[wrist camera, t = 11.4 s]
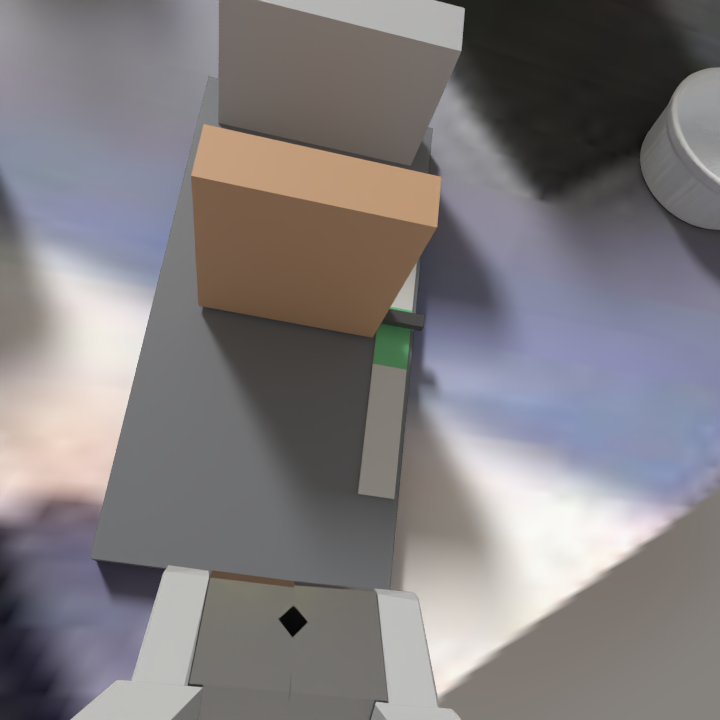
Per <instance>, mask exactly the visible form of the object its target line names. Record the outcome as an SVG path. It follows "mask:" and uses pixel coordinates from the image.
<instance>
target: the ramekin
mask: <svg viewBox="0 0 720 720" xmlns="http://www.w3.org/2000/svg"><path fill="white" fill-rule="evenodd" d="M640 164H641V170H642V174H643V176H644V179H645V181H646V184H647V185H648V187H649V189H650V191H651V192H652V194H653V195H654V196H655V198H656V199H657V200H658V201H659V202H660V203H661V204H662V206H663V207H665V208H666V209H667V210H668V211H669V212H670V213H672V214H673V215H675V216H676V217H678V218H679V219H681V220H683V221H685V222H687V223H689V224H691V225H694V226H697V227H701V228H706V229H715V230H720V67H718V68H707V69H703V70H700V71H697V72H695V73H693V74H691V75H689V76H688V77H686V78H685V79H684V80H683V81H682V82H681V83H680V84H679V86H678V87H677V88H676V90H675V92H674V93H673V95H672V97H671V99H670V102H669V104H668V105H667V107H666V108H665V109H664V111H663V112H662V114H661V115H660V116H659V118H658V119H657V120H656V122H655V123H654V125H653V126H652V127H651V129H650V130H649V132H648V133H647V135H646V137H645V139H644V141H643V144H642V147H641V152H640Z"/></svg>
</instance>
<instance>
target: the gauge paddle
mask: <svg viewBox="0 0 720 720" xmlns="http://www.w3.org/2000/svg"><path fill="white" fill-rule="evenodd" d="M191 183H192V200H193V218H194V236H195V254H196V272H197V290H198V306H203V307H208V308H214V309H219V310H225V311H230V312H235V313H241V314H246V315H252V316H257V317H263V318H268V319H273V320H279V321H284V322H290V323H295V324H301V325H306V326H311V327H317V328H322V329H328V330H333V331H338V332H344V333H349V334H355V335H360V336H366V337H371V338H373V336H374V334H375V333H376V331H377V329H378V328H379V326H380V324H386V325H392V326H397V327H402V328H407V329H413V330H418V331H421V330H422V328H423V327H424V316H425V315H421V314H416V313H410V312H405V311H400V310H395V309H390V307H391V305H392V304H393V302H394V300H395V299H396V297H397V295H398V293H399V292H400V290H401V288H402V287H403V285H404V283H405V281H406V280H407V278H408V276H409V275H410V273H411V271H412V270H413V268H414V266H415V264H416V263H417V261H418V259H419V258H420V256H421V254H422V253H423V251H424V249H425V247H426V246H427V244H428V242H429V241H430V239H431V237H432V235H433V234H434V232H435V230H436V229H437V223H438V212H439V200H440V188H441V177H440V176H435V175H431V174H426V173H422V172H417V171H413V170H408V169H404V168H399V167H395V166H390V165H386V164H381V163H377V162H372V161H368V160H363V159H359V158H354V157H350V156H345V155H341V154H336V153H332V152H327V151H323V150H318V149H314V148H309V147H305V146H300V145H296V144H291V143H287V142H282V141H278V140H273V139H269V138H264V137H260V136H255V135H251V134H246V133H242V132H237V131H233V130H228V129H224V128H219V127H215V126H210V125H206V124H204V125H203V129H202V133H201V137H200V141H199V145H198V149H197V153H196V158H195V162H194V166H193V170H192V174H191Z"/></svg>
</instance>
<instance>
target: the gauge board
mask: <svg viewBox="0 0 720 720" xmlns="http://www.w3.org/2000/svg"><path fill="white" fill-rule="evenodd" d="M464 13H465V8H462V7H458V6H454V5H451V4H447V3H443V2H439V1H435V0H219V79H218V78H213V77H208V81H207V85H206V89H205V93H204V97H203V101H202V105H201V109H200V113H199V117H198V122H197V126H196V130H195V134H194V138H193V142H192V146H191V150H190V154H189V158H188V162H187V166H186V170H185V174H184V178H183V182H182V186H181V190H180V194H179V198H178V202H177V207H176V211H175V215H174V219H173V223H172V227H171V231H170V235H169V239H168V243H167V247H166V251H165V255H164V259H163V263H162V267H161V271H160V275H159V279H158V283H157V287H156V292H155V296H154V300H153V304H152V308H151V312H150V316H149V320H148V324H147V328H146V332H145V336H144V340H143V344H142V348H141V352H140V356H139V360H138V364H137V368H136V373H135V377H134V381H133V385H132V389H131V393H130V397H129V401H128V405H127V409H126V413H125V417H124V421H123V425H122V429H121V433H120V437H119V441H118V445H117V449H116V453H115V458H114V462H113V466H112V470H111V474H110V478H109V482H108V486H107V490H106V494H105V498H104V502H103V506H102V510H101V514H100V518H99V522H98V526H97V530H96V534H95V538H94V543H93V547H92V551H91V555H90V559H93V560H95V561H102V562H110V563H118V564H126V565H133V566H141V567H149V568H157V569H165V570H166V568H167V566H168V565H171V566H178V567H185V568H192V569H200V570H207V571H211V572H212V570H214V571H222V572H229V573H237V574H244V575H252V576H259V577H266V578H274V579H281V580H289V581H299V582H309V583H319V584H328V585H338V586H348V587H358V588H368V589H372V590H374V589H385V590H390V582H391V571H392V560H393V549H394V539H395V528H396V517H397V507H398V496H399V485H400V474H401V464H402V453H403V442H404V432H405V421H406V410H407V399H408V389H409V378H410V367H411V357H412V346H413V335H414V330H413V329H407V328H402V327H397V326H392V325H386V324H380V326H379V328H378V329H377V331H376V333H375V334H374V336H373V338H371V337H366V336H360V335H355V334H349V333H344V332H338V331H333V330H328V329H322V328H317V327H311V326H306V325H301V324H295V323H290V322H284V321H279V320H273V319H268V318H263V317H257V316H252V315H246V314H241V313H235V312H230V311H225V310H219V309H214V308H208V307H203V306H198V290H197V272H196V254H195V236H194V218H193V200H192V183H191V174H192V170H193V166H194V162H195V158H196V153H197V149H198V145H199V141H200V137H201V133H202V129H203V125H204V124H206V125H210V126H215V127H219V128H224V129H228V130H233V131H237V132H242V133H246V134H251V135H255V136H260V137H264V138H269V139H273V140H278V141H282V142H287V143H291V144H296V145H300V146H305V147H309V148H314V149H318V150H323V151H327V152H332V153H336V154H341V155H345V156H350V157H354V158H359V159H363V160H368V161H372V162H377V163H381V164H386V165H390V166H395V167H399V168H404V169H408V170H413V171H417V172H422V173H426V174H429V164H430V153H431V142H432V132H433V128H428V125H429V123H430V121H431V119H432V116H433V114H434V112H435V110H436V107H437V105H438V103H439V101H440V98H441V96H442V94H443V92H444V89H445V87H446V85H447V83H448V80H449V78H450V76H451V74H452V71H453V69H454V67H455V65H456V62H457V60H458V58H459V56H460V53H461V51H462V38H463V25H464ZM420 260H421V256H420V258H419V259H418V261H417V263H416V264H415V266H414V268H413V270H412V271H411V273H410V275H409V276H408V278H407V280H406V281H405V283H404V285H403V287H402V288H401V290H400V292H399V293H398V295H397V297H396V299H395V300H394V302H393V304H392V305H391V307H390V309H395V310H400V311H405V312H410V313H416V303H417V292H418V282H419V271H420Z"/></svg>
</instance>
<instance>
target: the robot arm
mask: <svg viewBox="0 0 720 720" xmlns="http://www.w3.org/2000/svg"><path fill="white" fill-rule="evenodd" d="M210 575H211V576H210ZM71 720H461V719H460V717H459V716H458V715H457V714H456V713H455V712H454V711H453V709H445V708H440V707H439V702H438V697H437V692H436V687H435V681H434V676H433V671H432V666H431V661H430V655H429V650H428V645H427V640H426V635H425V630H424V624H423V619H422V614H421V609H420V604H419V598H418V597H417V596H416V594H415V593H414V592H406V591H396V590H385V589H374V590H372V589H368V588H358V587H348V586H338V585H328V584H319V583H309V582H299V581H289V580H281V579H274V578H266V577H259V576H252V575H244V574H237V573H229V572H222V571H214V570H212V572H211V571H207V570H200V569H192V568H185V567H178V566H171V565H168V566H167V568H166V570H165V571H164V573H163V575H162V579H161V582H160V585H159V589H158V592H157V596H156V599H155V602H154V606H153V609H152V613H151V616H150V620H149V623H148V626H147V630H146V633H145V637H144V640H143V643H142V647H141V650H140V654H139V657H138V660H137V664H136V667H135V671H134V674H133V677H132V681H127V680H117V681H115V682H114V683H113V684H112V685H111V686H109V687H108V688H107V689H106V690H105V691H104V692H102V693H101V694H100V695H99V696H98V697H97V698H95V699H94V700H93V701H92V702H91V703H90V704H88V705H87V706H86V707H85V708H84V709H82V710H81V711H80V712H79V713H78V714H77V715H75V716H74V717H73V718H72V719H71Z"/></svg>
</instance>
